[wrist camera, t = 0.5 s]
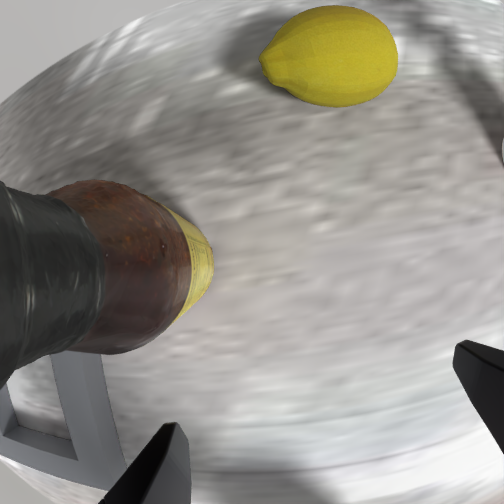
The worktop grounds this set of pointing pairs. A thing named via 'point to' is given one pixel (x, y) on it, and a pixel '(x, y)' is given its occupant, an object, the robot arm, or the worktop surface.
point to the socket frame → (70, 427)
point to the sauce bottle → (92, 271)
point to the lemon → (332, 56)
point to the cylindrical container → (503, 150)
